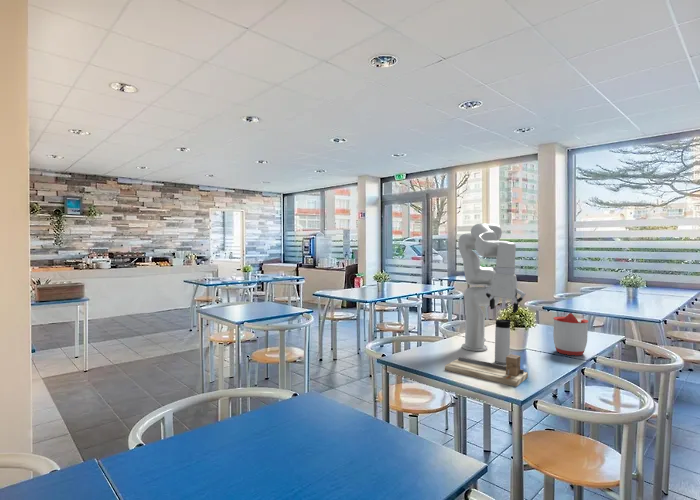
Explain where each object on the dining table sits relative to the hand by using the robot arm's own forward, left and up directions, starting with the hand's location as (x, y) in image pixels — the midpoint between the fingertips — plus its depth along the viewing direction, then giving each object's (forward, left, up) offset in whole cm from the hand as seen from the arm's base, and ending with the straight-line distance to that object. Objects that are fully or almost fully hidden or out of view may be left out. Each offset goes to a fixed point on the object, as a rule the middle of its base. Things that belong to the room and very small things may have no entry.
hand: (503, 310), depth 179 cm
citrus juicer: (-51, +16, -26) cm, 59 cm away
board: (+10, -4, -26) cm, 28 cm away
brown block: (+11, +7, -24) cm, 27 cm away
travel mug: (-10, -4, -26) cm, 28 cm away
